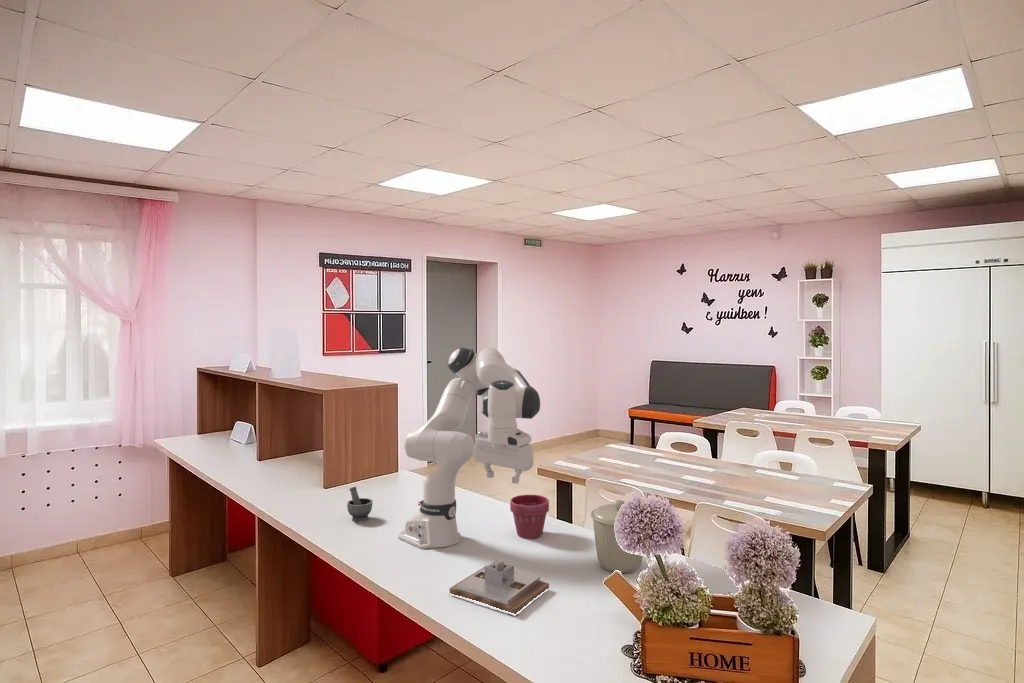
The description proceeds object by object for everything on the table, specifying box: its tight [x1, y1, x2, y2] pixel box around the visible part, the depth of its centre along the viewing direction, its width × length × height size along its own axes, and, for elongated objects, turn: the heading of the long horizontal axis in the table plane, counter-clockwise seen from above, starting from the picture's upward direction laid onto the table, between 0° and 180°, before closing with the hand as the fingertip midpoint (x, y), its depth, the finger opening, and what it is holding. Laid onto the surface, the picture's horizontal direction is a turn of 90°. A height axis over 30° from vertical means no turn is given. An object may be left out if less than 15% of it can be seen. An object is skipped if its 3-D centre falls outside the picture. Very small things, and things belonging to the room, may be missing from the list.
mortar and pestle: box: [346, 486, 373, 523], centre depth 224 cm, size 11×9×12 cm
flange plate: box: [458, 560, 541, 606], centre depth 162 cm, size 17×17×6 cm
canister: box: [590, 499, 644, 574], centre depth 179 cm, size 18×18×21 cm
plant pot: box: [509, 494, 550, 540], centre depth 207 cm, size 14×14×13 cm
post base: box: [449, 560, 550, 614], centre depth 162 cm, size 22×18×8 cm
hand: (502, 479), depth 173 cm, fingers open, 8 cm apart
